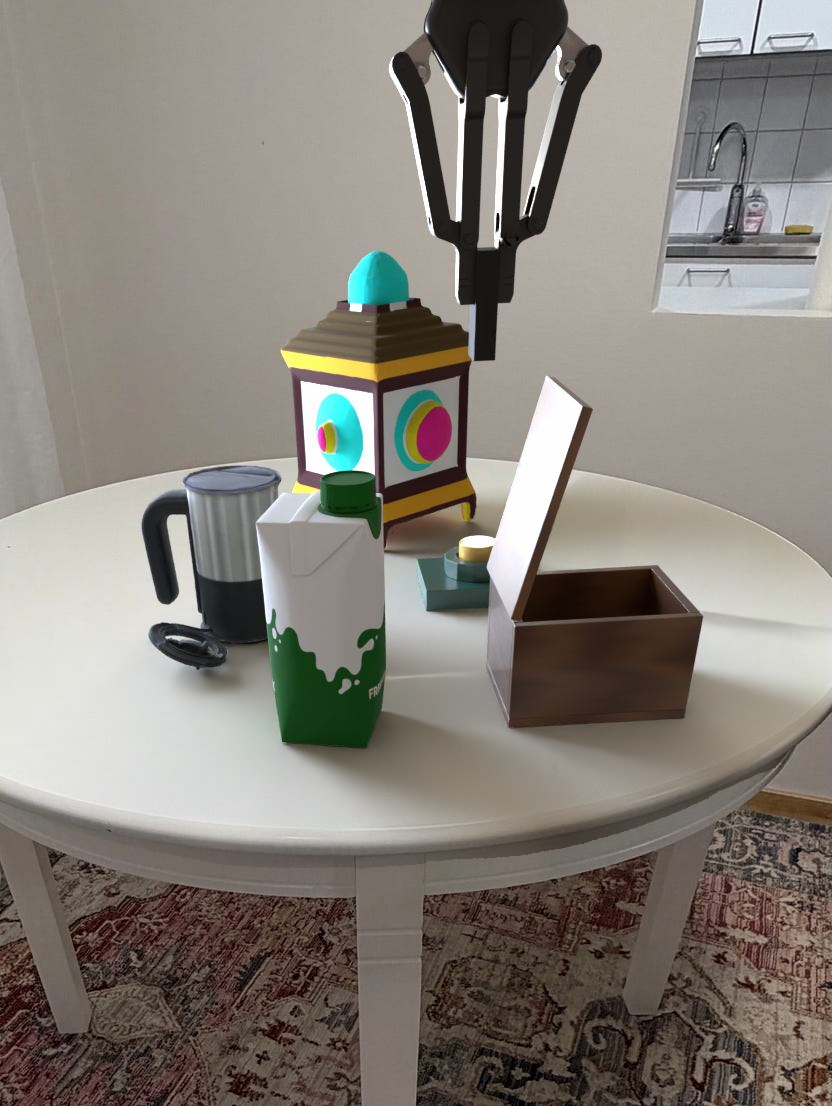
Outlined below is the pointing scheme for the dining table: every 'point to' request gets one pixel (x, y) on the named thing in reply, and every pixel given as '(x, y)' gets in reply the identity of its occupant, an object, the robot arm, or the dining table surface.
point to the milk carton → (326, 609)
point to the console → (453, 582)
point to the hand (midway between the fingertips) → (481, 357)
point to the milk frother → (212, 559)
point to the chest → (594, 648)
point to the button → (476, 548)
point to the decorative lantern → (384, 396)
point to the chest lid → (537, 493)
